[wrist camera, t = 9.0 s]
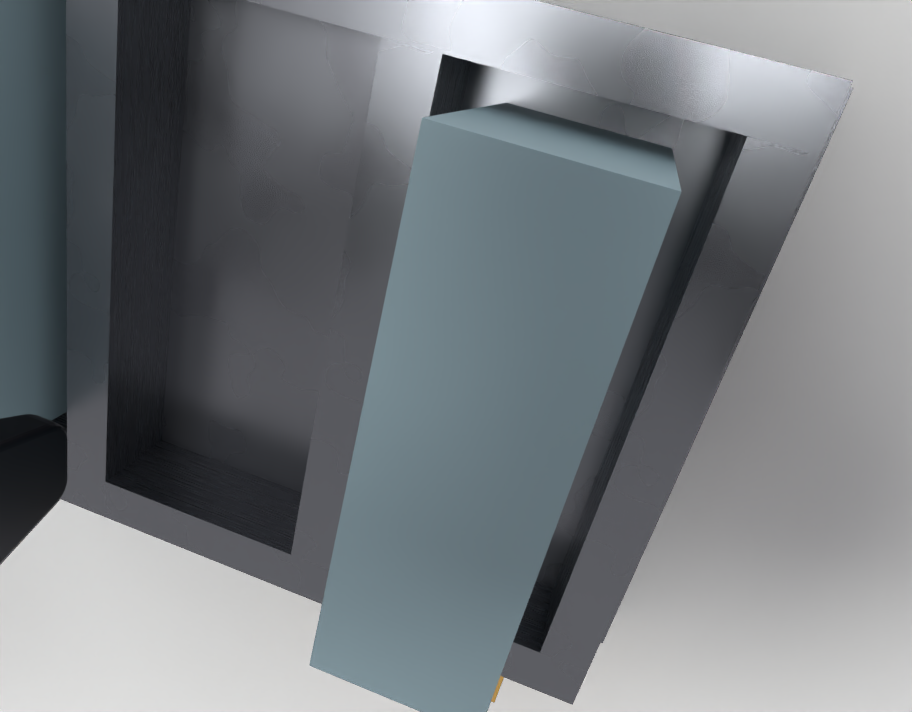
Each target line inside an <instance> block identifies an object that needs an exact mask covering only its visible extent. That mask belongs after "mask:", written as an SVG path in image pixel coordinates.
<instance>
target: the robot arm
mask: <svg viewBox="0 0 912 712" xmlns="http://www.w3.org/2000/svg"><path fill="white" fill-rule="evenodd" d="M66 485H67V433H66V431H65V429H64V427H63V426H61V425H60V424H59V423H56V422H54V421H51V420H48V419H46V418H43V417H41V416H38V415H34V414H24V415H18V416H12V417H6V418H0V564H1V563H2V562H3V561H4V560H5V559H6V558H7V557H8V556H9V555H10V554H11V552H12V551H13V550H14V549H15V548H16V547H17V546H18V545H19V544H20V543H21V542H22V540H23V539H24V538H25V537H26V536H27V535H28V534H29V533H30V532H31V531H32V530H33V529H34V527H35V526H36V525H37V524H38V523H39V522H40V521H41V520H42V519H43V518H44V517H45V515H46V514H47V513H48V512H49V511H50V510H51V509H52V508H53V507H54V506H55V505H56V503H57V502H58V501H59V500H60V498H61V496H62V495H63V493H64V491H65V488H66Z"/></svg>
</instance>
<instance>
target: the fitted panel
mask: <svg viewBox="0 0 912 712" xmlns="http://www.w3.org/2000/svg"><path fill="white" fill-rule="evenodd" d="M66 412H67V200H66V0H0V418H6V417H12V416H18V415H24V414H34V415H38V416H41V417H43V418H46V419H48V420H51V421H52V420H53V419H55V418H57V417H59V416H60V415H62V414H64V413H66Z"/></svg>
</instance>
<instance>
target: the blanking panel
mask: <svg viewBox="0 0 912 712" xmlns="http://www.w3.org/2000/svg"><path fill="white" fill-rule="evenodd" d="M680 194H681V187H680V182H679V178H678V173H677V168H676V164H675V159H674V155H673V150H672V148H669V147H666V146H662V145H658V144H655V143H651V142H648V141H644V140H640V139H637V138H633V137H629V136H626V135H622V134H619V133H615V132H611V131H608V130H604V129H600V128H597V127H593V126H590V125H586V124H582V123H579V122H575V121H572V120H568V119H564V118H561V117H557V116H553V115H550V114H546V113H543V112H539V111H535V110H532V109H528V108H524V107H521V106H517V105H514V104H510V103H501V104H496V105H490V106H485V107H479V108H473V109H468V110H462V111H457V112H451V113H446V114H440V115H434V116H429V117H423V118H422V121H421V125H420V130H419V135H418V140H417V145H416V150H415V155H414V159H413V164H412V169H411V174H410V179H409V184H408V189H407V194H406V198H405V203H404V208H403V213H402V218H401V223H400V228H399V232H398V237H397V242H396V247H395V252H394V257H393V262H392V267H391V271H390V276H389V281H388V286H387V291H386V296H385V301H384V305H383V310H382V315H381V320H380V325H379V330H378V335H377V339H376V344H375V349H374V354H373V359H372V364H371V369H370V374H369V378H368V383H367V388H366V393H365V398H364V403H363V408H362V412H361V417H360V422H359V427H358V432H357V437H356V442H355V447H354V451H353V456H352V461H351V466H350V471H349V476H348V481H347V485H346V490H345V495H344V500H343V505H342V510H341V515H340V519H339V524H338V529H337V534H336V539H335V544H334V549H333V554H332V558H331V563H330V568H329V573H328V578H327V583H326V588H325V592H324V597H323V602H322V607H321V612H320V617H319V622H318V626H317V631H316V636H315V641H314V646H313V651H312V656H311V661H310V666H312V667H314V668H317V669H319V670H322V671H324V672H326V673H329V674H331V675H334V676H336V677H338V678H341V679H343V680H346V681H348V682H350V683H353V684H355V685H358V686H360V687H362V688H365V689H367V690H370V691H372V692H375V693H377V694H379V695H382V696H384V697H387V698H389V699H391V700H394V701H396V702H399V703H401V704H403V705H406V706H408V707H411V708H413V709H415V710H418V711H420V712H487V710H488V708H489V705H490V702H491V700H492V697H493V694H494V692H495V689H496V686H497V684H498V681H499V678H500V676H501V673H502V670H503V668H504V665H505V662H506V660H507V657H508V654H509V652H510V649H511V646H512V644H513V641H514V638H515V636H516V633H517V630H518V627H519V625H520V622H521V619H522V617H523V614H524V611H525V609H526V606H527V603H528V601H529V598H530V595H531V593H532V590H533V587H534V585H535V582H536V579H537V577H538V574H539V571H540V569H541V566H542V563H543V561H544V558H545V555H546V553H547V550H548V547H549V545H550V542H551V539H552V537H553V534H554V531H555V529H556V526H557V523H558V521H559V518H560V515H561V512H562V510H563V507H564V504H565V502H566V499H567V496H568V494H569V491H570V488H571V486H572V483H573V480H574V478H575V475H576V472H577V470H578V467H579V464H580V462H581V459H582V456H583V454H584V451H585V448H586V446H587V443H588V440H589V438H590V435H591V432H592V430H593V427H594V424H595V422H596V419H597V416H598V414H599V411H600V408H601V406H602V403H603V400H604V397H605V395H606V392H607V389H608V387H609V384H610V381H611V379H612V376H613V373H614V371H615V368H616V365H617V363H618V360H619V357H620V355H621V352H622V349H623V347H624V344H625V341H626V339H627V336H628V333H629V331H630V328H631V325H632V323H633V320H634V317H635V315H636V312H637V309H638V307H639V304H640V301H641V299H642V296H643V293H644V291H645V288H646V285H647V283H648V280H649V277H650V274H651V272H652V269H653V266H654V264H655V261H656V258H657V256H658V253H659V250H660V248H661V245H662V242H663V240H664V237H665V234H666V232H667V229H668V226H669V224H670V221H671V218H672V216H673V213H674V210H675V208H676V205H677V202H678V200H679V197H680Z"/></svg>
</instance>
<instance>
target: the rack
mask: <svg viewBox="0 0 912 712" xmlns="http://www.w3.org/2000/svg"><path fill="white" fill-rule="evenodd" d="M852 82H853V81H852V80H848V79H844V78H840V77H836V76H832V75H828V74H824V73H820V72H817V71H813V70H809V69H805V68H801V67H797V66H793V65H789V64H785V63H781V62H777V61H773V60H769V59H765V58H761V57H758V56H754V55H750V54H746V53H742V52H738V51H734V50H730V49H726V48H722V47H718V46H714V45H710V44H706V43H702V42H698V41H695V40H691V39H687V38H683V37H679V36H675V35H671V34H667V33H663V32H659V31H655V30H651V29H647V28H643V27H639V26H636V25H632V24H628V23H624V22H620V21H616V20H612V19H608V18H604V17H600V16H596V15H592V14H588V13H584V12H580V11H576V10H573V9H569V8H565V7H561V6H557V5H553V4H549V3H545V2H541V1H537V0H66V200H67V412H66V413H64V414H62V415H60V416H59V417H57V418H55V419H53V420H52V421H54V422H56V423H59V424H60V425H61V426H63V427H64V429H65V431H66V433H67V485H66V488H65V491H64V493H63V495H62V496H61V498H60V499H62V500H64V501H67V502H69V503H72V504H74V505H77V506H79V507H82V508H84V509H87V510H89V511H92V512H94V513H97V514H99V515H102V516H104V517H107V518H109V519H112V520H114V521H117V522H119V523H122V524H124V525H127V526H129V527H132V528H134V529H137V530H139V531H142V532H144V533H147V534H149V535H152V536H154V537H156V538H159V539H161V540H164V541H166V542H169V543H171V544H174V545H176V546H179V547H181V548H184V549H186V550H189V551H191V552H194V553H196V554H199V555H201V556H204V557H206V558H209V559H211V560H214V561H216V562H219V563H221V564H224V565H226V566H229V567H231V568H234V569H236V570H239V571H241V572H244V573H246V574H249V575H251V576H254V577H256V578H259V579H261V580H264V581H266V582H269V583H271V584H273V585H276V586H278V587H281V588H283V589H286V590H288V591H291V592H293V593H296V594H298V595H301V596H303V597H306V598H308V599H311V600H313V601H316V602H318V603H321V604H322V602H323V597H324V592H325V588H326V583H327V578H328V573H329V568H330V563H331V558H332V554H333V549H334V544H335V539H336V534H337V529H338V524H339V519H340V515H341V510H342V505H343V500H344V495H345V490H346V485H347V481H348V476H349V471H350V466H351V461H352V456H353V451H354V447H355V442H356V437H357V432H358V427H359V422H360V417H361V412H362V408H363V403H364V398H365V393H366V388H367V383H368V378H369V374H370V369H371V364H372V359H373V354H374V349H375V344H376V339H377V335H378V330H379V325H380V320H381V315H382V310H383V305H384V301H385V296H386V291H387V286H388V281H389V276H390V271H391V267H392V262H393V257H394V252H395V247H396V242H397V237H398V232H399V228H400V223H401V218H402V213H403V208H404V203H405V198H406V194H407V189H408V184H409V179H410V174H411V169H412V164H413V159H414V155H415V150H416V145H417V140H418V135H419V130H420V125H421V121H422V118H423V117H429V116H434V115H440V114H446V113H451V112H457V111H462V110H468V109H473V108H479V107H485V106H490V105H496V104H501V103H510V104H514V105H517V106H521V107H524V108H528V109H532V110H535V111H539V112H543V113H546V114H550V115H553V116H557V117H561V118H564V119H568V120H572V121H575V122H579V123H582V124H586V125H590V126H593V127H597V128H600V129H604V130H608V131H611V132H615V133H619V134H622V135H626V136H629V137H633V138H637V139H640V140H644V141H648V142H651V143H655V144H658V145H662V146H666V147H669V148H672V150H673V155H674V159H675V164H676V168H677V173H678V178H679V182H680V187H681V194H680V197H679V200H678V202H677V205H676V208H675V210H674V213H673V216H672V218H671V221H670V224H669V226H668V229H667V232H666V234H665V237H664V240H663V242H662V245H661V248H660V250H659V253H658V256H657V258H656V261H655V264H654V266H653V269H652V272H651V274H650V277H649V280H648V283H647V285H646V288H645V291H644V293H643V296H642V299H641V301H640V304H639V307H638V309H637V312H636V315H635V317H634V320H633V323H632V325H631V328H630V331H629V333H628V336H627V339H626V341H625V344H624V347H623V349H622V352H621V355H620V357H619V360H618V363H617V365H616V368H615V371H614V373H613V376H612V379H611V381H610V384H609V387H608V389H607V392H606V395H605V397H604V400H603V403H602V406H601V408H600V411H599V414H598V416H597V419H596V422H595V424H594V427H593V430H592V432H591V435H590V438H589V440H588V443H587V446H586V448H585V451H584V454H583V456H582V459H581V462H580V464H579V467H578V470H577V472H576V475H575V478H574V480H573V483H572V486H571V488H570V491H569V494H568V496H567V499H566V502H565V504H564V507H563V510H562V512H561V515H560V518H559V521H558V523H557V526H556V529H555V531H554V534H553V537H552V539H551V542H550V545H549V547H548V550H547V553H546V555H545V558H544V561H543V563H542V566H541V569H540V571H539V574H538V577H537V579H536V582H535V585H534V587H533V590H532V593H531V595H530V598H529V601H528V603H527V606H526V609H525V611H524V614H523V617H522V619H521V622H520V625H519V627H518V630H517V633H516V636H515V638H514V641H513V644H512V646H511V649H510V652H509V654H508V657H507V660H506V662H505V665H504V668H503V670H502V673H501V676H500V678H499V681H498V684H497V686H496V689H495V692H494V694H493V697H492V700H491V701H492V702H495V699H496V696H497V694H498V691H499V689H500V686H501V683H502V681H503V678H504V677H505V678H507V679H510V680H512V681H515V682H517V683H520V684H522V685H525V686H527V687H530V688H532V689H535V690H537V691H540V692H542V693H545V694H547V695H550V696H552V697H555V698H557V699H560V700H562V701H565V702H567V703H570V704H573V702H574V700H575V698H576V696H577V693H578V691H579V689H580V687H581V684H582V682H583V680H584V678H585V676H586V673H587V671H588V669H589V667H590V664H591V662H592V660H593V658H594V656H595V653H596V651H597V649H598V647H599V644H600V643H603V641H604V639H605V637H606V634H607V632H608V630H609V628H610V626H611V623H612V621H613V619H614V617H615V615H616V612H617V610H618V608H619V606H620V603H621V601H622V599H623V597H624V595H625V592H626V590H627V588H628V586H629V584H630V581H631V579H632V577H633V575H634V572H635V570H636V568H637V566H638V564H639V561H640V559H641V557H642V555H643V553H644V550H645V548H646V546H647V544H648V542H649V539H650V537H651V535H652V533H653V530H654V528H655V526H656V524H657V522H658V519H659V517H660V515H661V513H662V511H663V508H664V506H665V504H666V502H667V499H668V497H669V495H670V493H671V491H672V488H673V486H674V484H675V482H676V480H677V477H678V475H679V473H680V471H681V469H682V466H683V464H684V462H685V460H686V457H687V455H688V453H689V451H690V449H691V446H692V444H693V442H694V440H695V438H696V435H697V433H698V431H699V429H700V426H701V424H702V422H703V420H704V418H705V415H706V413H707V411H708V409H709V407H710V404H711V402H712V400H713V398H714V396H715V393H716V391H717V389H718V387H719V384H720V382H721V380H722V378H723V376H724V373H725V371H726V369H727V367H728V365H729V362H730V360H731V358H732V356H733V353H734V351H735V349H736V347H737V345H738V342H739V340H740V338H741V336H742V334H743V331H744V329H745V327H746V325H747V323H748V320H749V318H750V316H751V314H752V311H753V309H754V307H755V305H756V303H757V300H758V298H759V296H760V294H761V292H762V289H763V287H764V285H765V283H766V280H767V278H768V276H769V274H770V272H771V269H772V267H773V265H774V263H775V261H776V258H777V256H778V254H779V252H780V250H781V247H782V245H783V243H784V241H785V238H786V236H787V234H788V232H789V230H790V227H791V225H792V223H793V221H794V219H795V216H796V214H797V212H798V210H799V207H800V205H801V203H802V201H803V199H804V196H805V194H806V192H807V190H808V188H809V185H810V183H811V181H812V179H813V177H814V174H815V172H816V170H817V168H818V165H819V163H820V161H821V159H822V157H823V154H824V152H825V150H826V148H827V146H828V143H829V141H830V139H831V137H832V134H833V132H834V130H835V128H836V126H837V123H838V121H839V119H840V117H841V115H842V112H843V110H844V108H845V106H846V103H847V101H848V99H849V97H850V95H851V92H852V90H853V88H851V84H852Z"/></svg>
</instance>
